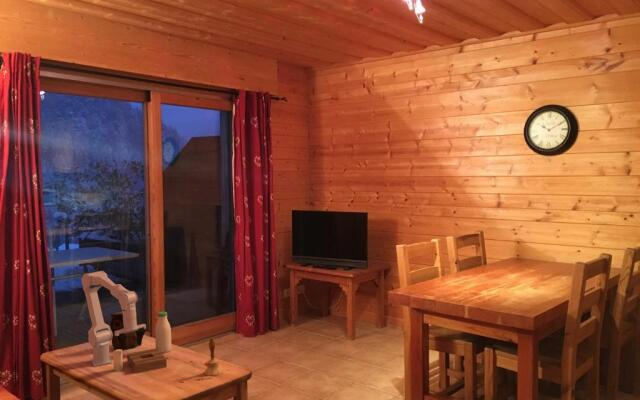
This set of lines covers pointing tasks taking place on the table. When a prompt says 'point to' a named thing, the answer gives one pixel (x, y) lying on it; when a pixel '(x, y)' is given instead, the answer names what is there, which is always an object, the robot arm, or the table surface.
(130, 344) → the owl
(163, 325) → the milk bottle
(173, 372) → the table surface
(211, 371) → the hand bell
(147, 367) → the walnut holder
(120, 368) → the cream peg
